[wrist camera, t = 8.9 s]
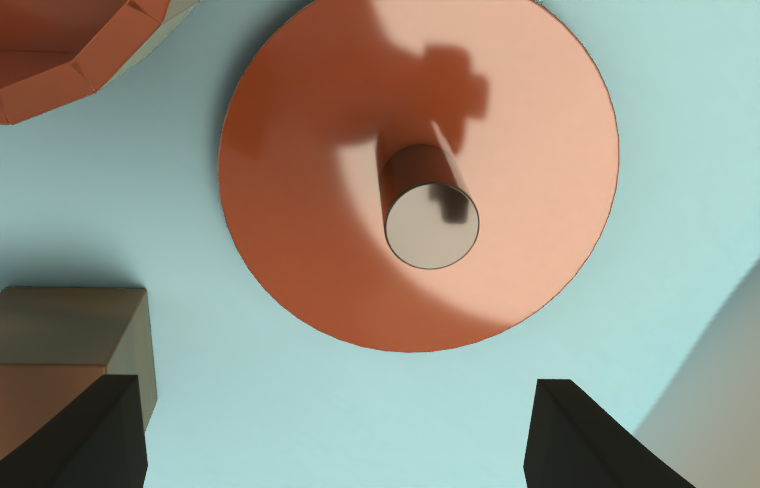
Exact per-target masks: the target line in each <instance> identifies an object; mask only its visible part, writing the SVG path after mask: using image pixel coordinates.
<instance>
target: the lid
mask: <svg viewBox="0 0 760 488" xmlns="http://www.w3.org/2000/svg"><path fill="white" fill-rule="evenodd" d="M618 171H619V135H618V129H617V122H616V116H615V112H614V108H613V105H612V102H611V98H610V95H609V92H608V89H607V87H606V85H605V82H604V80H603V78H602V76H601V74H600V72H599V70H598V67H597V65H596V64H595V62H594V61H593V59H592V58H591V56H590V55H589V53H588V52H587V50H586V49H585V47H584V46H583V44H582V43H581V42H580V41H579V40H578V39H577V37H576V36H575V35H574V34H573V33H572V32H571V31H570V30H569V29H568V27H567V26H566V25H565V24H564V23H563V22H562V21H560V20H559V19H558V18H557V17H556V16H554V15H553V14H552V13H551V12H549V11H548V10H547V9H546V8H545V7H543V6H542V5H540V4H539V3H537V2H535V1H534V0H314V1H312V2H311V3H309V4H308V5H306V6H305V7H303V8H301V9H300V10H298V11H297V12H296V13H295V14H294V15H293V16H291V17H290V18H289V19H288V20H287V21H286V22H285V23H283V24H282V25H281V26H280V27H279V28H278V29H277V30H276V31H275V32H274V33H273V34H272V35H271V37H270V38H269V39H268V40H267V41H266V42H265V43H264V45H263V46H262V47H261V48H260V49H259V50H258V52H257V53H256V55H255V56H254V58H253V59H252V61H251V63H250V64H249V66H248V67H247V69H246V70H245V72H244V73H243V75H242V77H241V79H240V81H239V83H238V85H237V87H236V89H235V91H234V94H233V96H232V98H231V100H230V103H229V106H228V109H227V113H226V116H225V119H224V122H223V126H222V131H221V138H220V144H219V150H218V183H219V192H220V200H221V205H222V209H223V212H224V216H225V220H226V224H227V227H228V229H229V232H230V234H231V237H232V239H233V241H234V244H235V246H236V248H237V250H238V252H239V254H240V255H241V257H242V259H243V260H244V262H245V264H246V266H247V267H248V269H249V270H250V272H251V273H252V274H253V275H254V277H255V278H256V279H257V281H258V282H259V283H260V284H261V286H262V287H263V288H264V289H265V290H266V291H267V292H268V293H269V294H270V295H271V296H272V297H273V298H274V299H275V300H276V301H277V302H278V303H279V304H280V305H281V306H283V307H284V308H285V309H286V310H288V311H289V312H290V313H292V314H293V315H294V316H295V317H297V318H298V319H300V320H301V321H303V322H305V323H306V324H308V325H310V326H312V327H313V328H315V329H317V330H318V331H321V332H323V333H325V334H327V335H330V336H332V337H334V338H336V339H339V340H341V341H345V342H348V343H351V344H354V345H358V346H361V347H366V348H371V349H376V350H382V351H391V352H405V353H413V352H433V351H440V350H446V349H453V348H457V347H461V346H465V345H469V344H472V343H476V342H479V341H482V340H484V339H487V338H489V337H492V336H495V335H497V334H500V333H502V332H503V331H505V330H507V329H509V328H511V327H513V326H515V325H517V324H519V323H521V322H522V321H524V320H525V319H527V318H528V317H530V316H531V315H533V314H534V313H536V312H537V311H539V310H540V309H541V308H542V307H544V306H545V305H546V304H547V303H548V302H549V301H551V300H552V299H553V298H554V297H555V296H556V295H558V294H559V293H560V292H561V291H562V289H563V288H564V287H565V286H566V285H567V284H568V283H569V282H570V281H571V280H572V279H573V278H574V277H575V275H576V274H577V273H578V271H579V270H580V268H581V267H582V266H583V264H584V263H585V262H586V260H587V259H588V257H589V256H590V254H591V252H592V250H593V249H594V247H595V245H596V243H597V242H598V240H599V238H600V236H601V234H602V231H603V229H604V226H605V224H606V222H607V219H608V217H609V214H610V211H611V207H612V203H613V199H614V196H615V192H616V187H617V179H618Z"/></svg>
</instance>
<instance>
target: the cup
mask: <svg viewBox="0 0 760 488" xmlns="http://www.w3.org/2000/svg"><path fill="white" fill-rule="evenodd" d="M199 2H200V0H0V125H10V124H11V125H15V124H17V123H20V122H22V121H25V120H28V119H30V118H33V117H35V116H38V115H41V114H43V113H46V112H48V111H51V110H53V109H56V108H59V107H61V106H64V105H66V104H69V103H72V102H74V101H77V100H79V99H82V98H85V97H87V96H90V95H92V94H95V93H97V92H98V91H100V90H101V89H102V88H104V87H105V86H107V85H108V84H109V83H111V82H112V81H113V80H115V79H116V78H118V77H119V76H120V75H122V74H123V73H124V72H126V71H127V70H129V69H130V68H131V67H133V66H134V65H135V64H137V63H138V62H140V61H141V60H142V59H144V58H145V57H146V56H148V55H149V54H150V53H151V52H152V51H153V50H154V49H155V48H156V47H157V46H158V45H159V44H160V43H161V42H162V41H163V40H164V39H165V38H166V36H167V35H168V34H170V33H171V32H172V31H173V30H174V29H175V28H176V27H177V26H178V25H179V24H180V23H181V22H182V20H183V19H184V18H185V17H186V16H187V14H188V13H189V12H190V11H191V10H192V9H193V8H194V7H195V6H196V5H197V4H198V3H199Z"/></svg>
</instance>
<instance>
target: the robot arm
mask: <svg viewBox="0 0 760 488" xmlns="http://www.w3.org/2000/svg"><path fill="white" fill-rule="evenodd" d="M147 467H148V462H147V453H146V443H145V434H144V425H143V416H142V407H141V398H140V389H139V380H138V375H127V374H103V375H102V376H100V377H99V378H98V379H97V380H96V381H94V382H93V383H92V384H91V385H90V386H89V387H87V388H86V389H85V390H84V391H83V392H82V393H81V394H79V395H78V396H77V397H76V398H75V399H74V400H73V401H71V402H70V403H69V404H68V405H67V406H66V407H65V408H63V409H62V410H61V411H60V412H59V413H58V414H57V415H55V416H54V417H53V418H52V419H51V420H50V421H48V422H47V423H46V424H45V425H44V426H43V427H41V428H40V429H39V430H38V431H37V432H35V433H34V434H33V435H32V436H31V437H29V438H28V439H27V440H26V441H25V442H23V443H22V444H21V445H20V446H18V447H17V448H16V449H14V450H13V451H12V452H11V453H9V454H8V455H7V456H5V457H4V458H3V459H1V460H0V488H143V484H144V480H145V476H146V472H147ZM523 468H524V473H525V478H526V483H527V488H696V487H694V486H693V485H692V484H690V483H689V482H688V481H687V480H685V479H684V478H683V477H681V476H680V475H679V474H678V473H676V472H675V471H674V470H673V469H671V468H670V467H669V466H667V465H666V464H665V463H664V462H663V461H661V460H660V459H659V458H658V457H657V456H655V455H654V454H653V453H651V451H649V450H648V449H647V448H646V447H645V446H644V445H642V444H641V443H640V442H639V441H638V440H637V439H636V438H634V437H633V436H632V435H631V434H630V433H629V432H628V431H627V430H625V429H624V428H623V427H622V426H621V425H620V424H619V423H618V422H617V421H615V420H614V419H613V418H612V417H611V416H610V415H609V414H608V413H607V412H606V411H605V410H603V409H602V408H601V407H600V406H599V405H598V404H597V403H596V402H595V401H594V400H593V399H592V398H591V397H589V396H588V395H587V394H586V393H585V392H584V391H583V390H582V389H581V388H580V387H578V386H577V385H576V384H575V383H574V382H573V381H572V380H570V379H537V386H536V392H535V398H534V404H533V410H532V416H531V422H530V429H529V435H528V441H527V447H526V453H525V459H524V465H523Z"/></svg>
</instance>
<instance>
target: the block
mask: <svg viewBox="0 0 760 488" xmlns="http://www.w3.org/2000/svg"><path fill="white" fill-rule="evenodd" d="M103 374H127V375H138V380H139V389H140V398H141V407H142V416H143V425H144V433H145V431H146V428H147V426H148V423H149V420H150V418H151V415H152V413H153V410H154V408H155V405H156V402H157V390H156V380H155V370H154V360H153V350H152V340H151V330H150V320H149V309H148V299H147V291H146V290H145V289H117V288H70V287H22V286H8V287H5V289H4V290H3V291H2V292H1V293H0V460H1V459H3V458H4V457H5V456H7V455H8V454H9V453H11V452H12V451H13V450H14V449H16V448H17V447H18V446H20V445H21V444H22V443H23V442H25V441H26V440H27V439H28V438H29V437H31V436H32V435H33V434H34V433H35V432H37V431H38V430H39V429H40V428H41V427H43V426H44V425H45V424H46V423H47V422H48V421H50V420H51V419H52V418H53V417H54V416H55V415H57V414H58V413H59V412H60V411H61V410H62V409H63V408H65V407H66V406H67V405H68V404H69V403H70V402H71V401H73V400H74V399H75V398H76V397H77V396H78V395H79V394H81V393H82V392H83V391H84V390H85V389H86V388H87V387H89V386H90V385H91V384H92V383H93V382H94V381H96V380H97V379H98V378H99V377H100V376H102V375H103Z"/></svg>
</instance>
